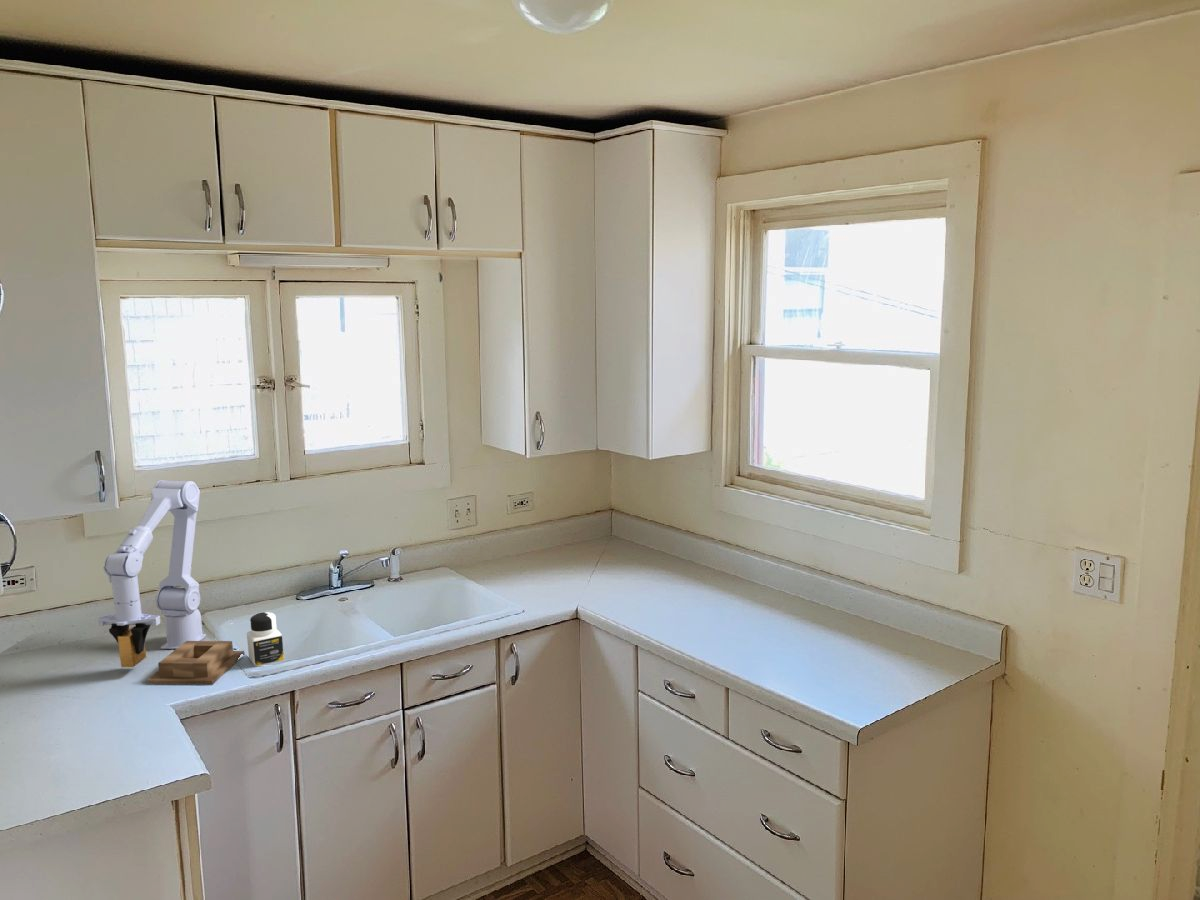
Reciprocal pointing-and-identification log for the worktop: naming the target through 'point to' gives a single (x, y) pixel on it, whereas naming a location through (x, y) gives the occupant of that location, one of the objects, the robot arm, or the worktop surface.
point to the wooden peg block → (129, 650)
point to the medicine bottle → (264, 640)
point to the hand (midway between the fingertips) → (133, 652)
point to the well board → (196, 663)
